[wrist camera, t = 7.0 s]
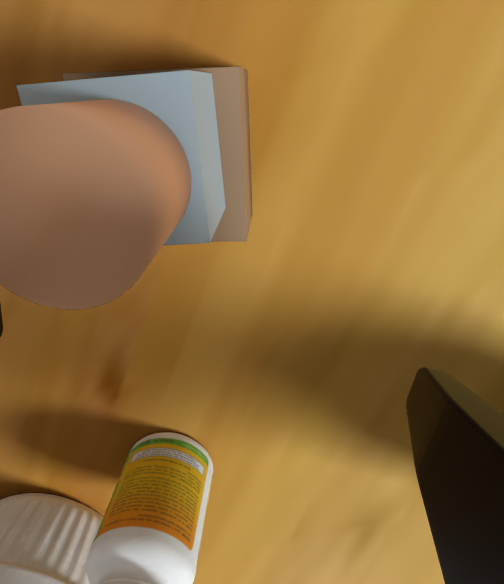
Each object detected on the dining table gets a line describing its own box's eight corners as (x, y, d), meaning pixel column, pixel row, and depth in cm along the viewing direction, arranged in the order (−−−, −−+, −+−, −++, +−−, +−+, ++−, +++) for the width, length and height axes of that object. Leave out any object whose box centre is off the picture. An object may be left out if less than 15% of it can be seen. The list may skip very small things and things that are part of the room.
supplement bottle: (119, 433, 27) (39, 603, 18) (203, 425, 26) (164, 598, 17) (143, 494, 29) (83, 672, 20) (221, 488, 28) (195, 670, 19)
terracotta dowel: (199, 113, 11) (160, 127, 8) (184, 257, 13) (147, 323, 9) (44, 86, 11) (-70, 87, 7) (50, 234, 13) (-39, 292, 9)
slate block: (211, 73, 14) (188, 69, 11) (225, 207, 16) (209, 242, 13) (80, 85, 15) (16, 85, 11) (109, 214, 17) (62, 250, 13)
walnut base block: (247, 70, 18) (239, 66, 14) (252, 213, 20) (246, 241, 17) (105, 75, 18) (62, 73, 15) (127, 215, 21) (95, 242, 17)
